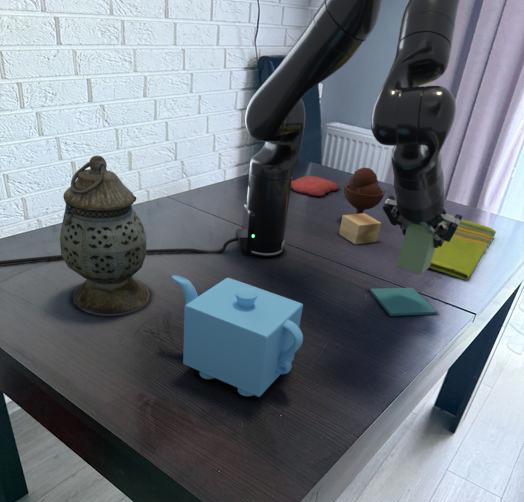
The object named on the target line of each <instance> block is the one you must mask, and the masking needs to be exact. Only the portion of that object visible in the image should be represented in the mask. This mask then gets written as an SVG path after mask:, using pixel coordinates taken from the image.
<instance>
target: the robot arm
mask: <svg viewBox="0 0 524 502" xmlns="http://www.w3.org/2000/svg"><path fill="white" fill-rule="evenodd" d="M460 2H461V0H408V1H407V3H406V6H405V8H404V11H403V14H402V17H401V22H400V26H399V33H398V37H397V38H398V39H397V44H396V50H395V55H394V56H395V57H394V59H393V62H392V64H391V66H390V69H389V72H388V74H387V76H386V78H385V80H384V81H383V84H382V86H381V88H380V90H379V92H378V94H377V97H376V99H375V102H374V104H373V107H372V112H371V117H370V128H371V133H372V135H373V137H374V139H375V140H376V141H377V142H378V143H379V144H380V145H383V146H389V147H390V146H391V147H392V150H391V166H392V171H393V188H394V194H395V197H394V196H393V195H388V197H387V198H386V200H385V202H384V204H383V206H382V209H383V212H384V213H385V215H386V217H387V220H389V222H390V224H391V225H393V226H395V227H396V226H397V225H398V226H399V228H400V229H401V230H402V235H403V237H405V233H406V230H407V228H408V227H409V225H410V224H411V223H413V224H417V225H421V226H423V227H424V228H425V229H426V231H427V232H428V234H432V236H433V237H434V238H433V242H434V248H438V247H439V246H440V247H441V246H442V244H443V242H444V240H445V241H447V242H449V241H450V240H451V238H452V236H453V235H454V233H455V231H456V229H457V227H458V225H459V223H460V221H461V219H462V220H463V216H462V215H461V214H458V213H457V214H455V215H454V216H455V217H452V216H449V215H450V214H449V215H447V214H448V213H447V210H446V209H445V208H444V205H445V178H444V170H443V161H442V160H443V159H442V158H443V157H442V156H443V149H444V146H445V144H446V141H447V140H448V137H449V135H450V133H451V130H452V128H453V125H454V122H455V118H456V113H457V104H456V103H457V102H456V99H455V96H454V95H453V93H452V92H451V90H450V89H449V88H447V87H445V86H443V85H426V84H429V83H432V82H435V81H436V80H438V79H440V78H441V77H442V76H443V75H444V74H445V73H446V71H447V69H448V67H449V64H450V59H451V52H452V46H453V42H454V41H453V40H454V34H455V28H456V23H457V22H456V21H457V16H458V11H459V6H460ZM382 7H383V0H323V1H322V3H321V4H320V5H319V7H317V10H316V12H315V13H314V14H313V16H312V17H311V19H310V21H309V22H308V24H307V25H306V27H305V28H304V30H302V32H301V34H300V36H299V37H298V38H297V39H296V41H295V43H294V44H292V46H291V48H290V49H289V51H288V52H287V54H286V55H285V56H284V58H283V60H282V61H281V62H280V64H279V65H278V66H277V67H276V69H274V70H273V72H272V73H271V74H270V76H268V77H267V79H265V81H264V83H262V85H261V86H260V87H259V88H258V89H257V90H256V92H255V93H254V94H253V95H252V97H251V98H250V100H249V102H248V104H247V107H246V110H245V115H244V116H245V117H244V123H245V129H246V131H247V134H248V135H249V136H250V137H251V138H252V139H254V140H255V141H257V142H263V143H264V145H263V146H262V148H261V149H260V150H259V151H258V152H257V153H255V154H254V155H253V156H252V157H251V159H250V162H249V170H248V171H249V172H248V173H249V174H248V185H247V196H246V203H244V204H243V211H242V212H243V214H242V225H241V229H235V237H233V238H230V239H228V240H226V241H225V242H224V243H223V245H222V247H221V248H220V249H217V250H205V249H199V248H191V247H190V248H187V247H186V248H154V249H146V254H156V253H159V254H160V253H189V252H191V253H198V254H222V252H224V251H226V250H227V247H228V245H229V244H231V243H234V242H236V244H237V246H238V248H242V250H243V251H244V253H245V255H250V256H251V255H252V256H255V257H261V258H272V257H273V258H274V257H277V256H280V255H281V254H283V251H284V246H285V244H286V238H285V236H286V235H285V234H286V227H287V220H288V211H289V203H290V197H291V190H292V189H291V183H292V181H293V174H294V169H295V168H296V166H297V164H298V162H299V158H300V153H301V149H302V143H303V138H304V132H305V125H306V108H305V104H304V101H303V99H302V98H303V97H304V96H305V95H306V94H307V93H309V91H311V90H312V89H313V88H315V87H316V86H318V85H319V84H321V83H322V82H324V81H325V80H326V79H328V78H329V77H331V76H332V75H333V74H335V73H336V72H338V71H339V70H341V68H342V67H343V66H345V65H346V64H347V63H348V62H349V61H350V60H351V59H352V58H353V57H354V55H355V54H356V53H357V52H358V51H359V50H360V48H361V47H362V46H363V45H364V44H365V43H366V41H368V38H369V37H370V36H371V34H372V33H373V32H374V31H375V29H376V27H377V24H378V21H379V20H380V19H379V18H380V16H381V11H382ZM422 85H423V86H422ZM425 85H426V86H425ZM446 213H447V214H446ZM443 221H444V222H445V223H446V226H447V227H445V225H444V224H443ZM50 260H63V257H62V255H61V254H57V255H46V256H35V257H25V258H17V259H16V258H13V259H5V260H0V266H1V265H9V264H10V265H11V264H20V263H29V262H41V261H50Z"/></svg>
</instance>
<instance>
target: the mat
mask: <svg viewBox="0 0 524 502" xmlns="http://www.w3.org/2000/svg"><path fill="white" fill-rule="evenodd" d="M369 292H370V293H371V294H372V296H373V297H374V298H375V299H376V301H377V302H378V303H379V304H380V305H381V306H382V308H383V309H384V310H385V311H386V313H387V314H388V315H389V316H390V317H398V316H401V317H402V316H425V315H427V316H428V315H437V310H436V309H435V308H434V307H433V306H432V305H431V304H430V303H429V302H428V301H427V300H426V299H425V298H424V297H423V296H422V295H421V294H420V292H418V291H417V290H416V289H415V288H414V287H386V288H385V287H382V288H381V287H380V288H379V287H377V288H370V289H369Z"/></svg>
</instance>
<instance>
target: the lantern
mask: <svg viewBox="0 0 524 502" xmlns="http://www.w3.org/2000/svg"><path fill="white" fill-rule="evenodd" d="M107 165H108V164H107V161H106V160H105V158H104V157H103V156H101V155H93V156H91V158H90V159H89V162H86V163H85V164H84V165H83V166H81V167H80V168H79V169H77V170H76V171H75V173H74V174H73V176H72V178H71V180H70V186H69V187H68V188H67V189H66V190H65V191H64V193H63V195H62V197H63V200H64V203H65V208H64V213H63V218H62V223H61V228H60V236H59V245H60V255H62V257H63V258H62V260H63V261H64V262H65V264H66V265H67V267H68V269H70V270H72V272H74V273H76V274H78V275H79V276H81V277H82V278H83V279H84V282H82V283H81V284H80V285H78V287H76V288H75V289H74V291H73V293H72V299H73V304H74V305H76V307H77V308H79V309H80V310H82V311H84V312H85V313H87V314H91V315H96V316H103V317H104V316H105V317H113V316H114V317H115V316H124V315H127V314H128V315H129V314H131V313H135V312H136V311H139V310H141V309H143V308H144V306H147V304H148V303H149V300H150V298H151V297H150V296H151V295H150V292H149V289H148V288H147V286H145V285H144V284H143V283H141V282H140V281H138V280H137V279H135V278H134V277H133V276H134V275H135V274H137V273H138V272H139V270H141V269H142V268H143V265H144V262H145V259H146V256H147V253H146V250H147V234H146V231H145V228H144V224H143V223H142V220H141V218H140V216H139V215H138V214H137V213H136V211H135V210H134V208H133V204H134V203H135V202H137V196H135V195H134V193H133V192H132V191H131V190H130V189H129V188H128V187H127V186H126V185H125V184H124V183H123V182H122V179H120V177H119V176H118V175H117V174H116V173H115V172H113V171H110V170H108V169H107ZM88 168H89V169H88Z"/></svg>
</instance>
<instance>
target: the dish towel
mask: <svg viewBox="0 0 524 502" xmlns="http://www.w3.org/2000/svg"><path fill="white" fill-rule="evenodd" d="M446 214H447V215H449V216H452V217H455V215H452V214H449V213H447V212H446ZM443 224H444V225H445V227H447V226H446V223H445V222H444V221H443ZM496 233H497V231H496V230H495V229H493V228H491V227H489V226H486V225H484V224H480V223H477V222H474V221H470V220H467V219H463V218H462V219H461V221H460V223H459V225H458V227H457V229H456V231H455V233H454V235H453V236H452V238H451V240H450V241H449V242H447V241H445V240H444V242H443V244H442V246H441V247H440V246H439V247H438V248H435V251H434V255H433V258H432V261H431V264H430V267H429V268H428V269H431V270H433V271H436V272H440V273H444V274H446V275H449V276H451V277H456V278H459V279H462V280H469V278H470V277H471V275H472V274H473V272H474V270H475V269H476V267H477V265H478V263H479V261H480V259H481V258H482V256H483V255H484V253H485V252H486V250H487V248H488V247H489V245H490V244H491V242H492V241H493V239H494V238H495V235H496Z"/></svg>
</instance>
